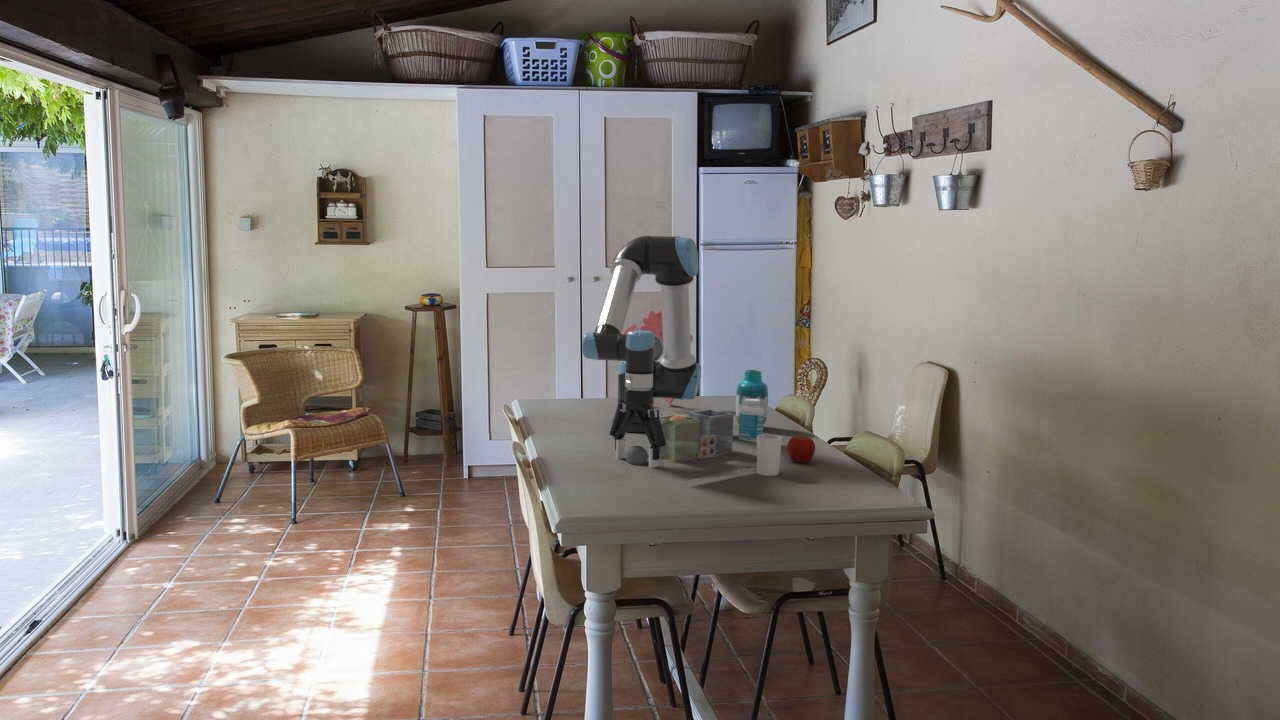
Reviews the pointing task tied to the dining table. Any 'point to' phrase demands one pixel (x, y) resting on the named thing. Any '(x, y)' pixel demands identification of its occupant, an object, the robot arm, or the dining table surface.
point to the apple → (801, 449)
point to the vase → (752, 392)
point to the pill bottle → (751, 420)
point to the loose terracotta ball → (678, 418)
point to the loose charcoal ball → (636, 455)
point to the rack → (697, 436)
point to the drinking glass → (768, 454)
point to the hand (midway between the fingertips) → (636, 467)
